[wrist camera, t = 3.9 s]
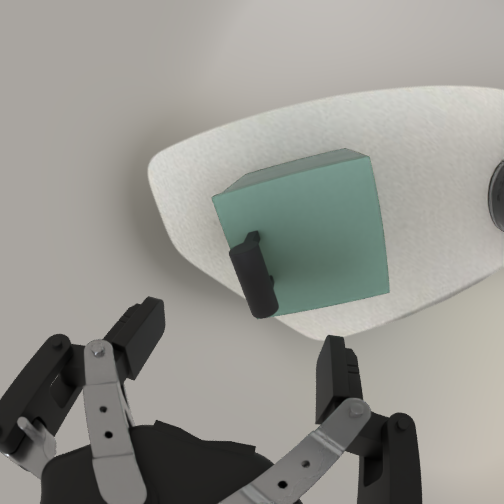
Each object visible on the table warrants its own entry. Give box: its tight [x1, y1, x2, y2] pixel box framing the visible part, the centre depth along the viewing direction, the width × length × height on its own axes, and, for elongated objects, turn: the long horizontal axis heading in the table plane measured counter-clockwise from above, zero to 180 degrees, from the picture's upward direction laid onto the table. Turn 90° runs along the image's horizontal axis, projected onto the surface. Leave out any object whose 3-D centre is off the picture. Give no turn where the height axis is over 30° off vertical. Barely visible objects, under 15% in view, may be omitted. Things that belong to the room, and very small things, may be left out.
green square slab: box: [212, 156, 390, 319], centre depth 17 cm, size 11×10×5 cm
